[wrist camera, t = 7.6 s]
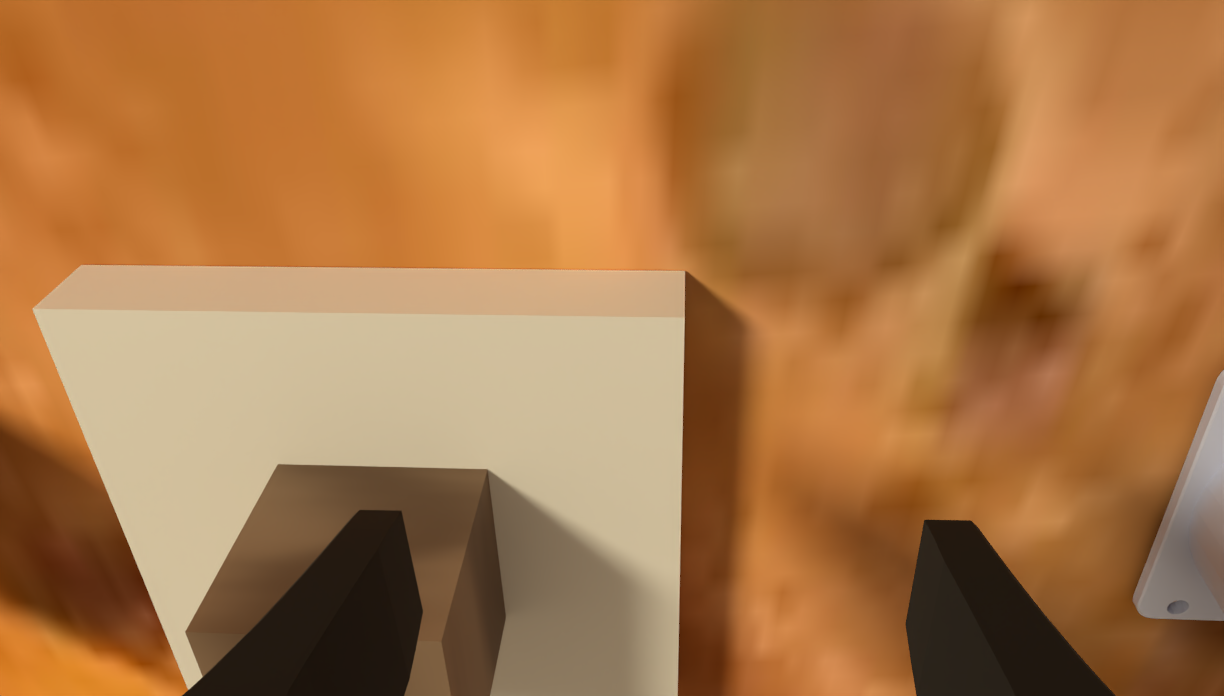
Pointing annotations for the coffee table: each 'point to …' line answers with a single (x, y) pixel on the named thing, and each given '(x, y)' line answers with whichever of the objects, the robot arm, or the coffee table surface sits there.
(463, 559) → the walnut block
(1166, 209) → the coffee table surface
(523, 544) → the base board
